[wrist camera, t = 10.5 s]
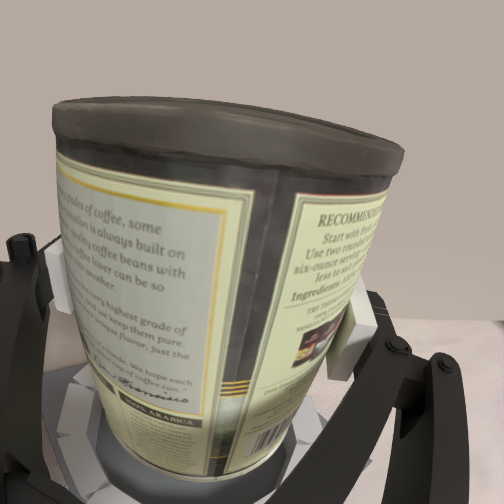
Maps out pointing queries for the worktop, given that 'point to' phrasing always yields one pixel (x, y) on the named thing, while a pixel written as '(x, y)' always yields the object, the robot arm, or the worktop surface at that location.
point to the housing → (135, 473)
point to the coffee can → (210, 266)
